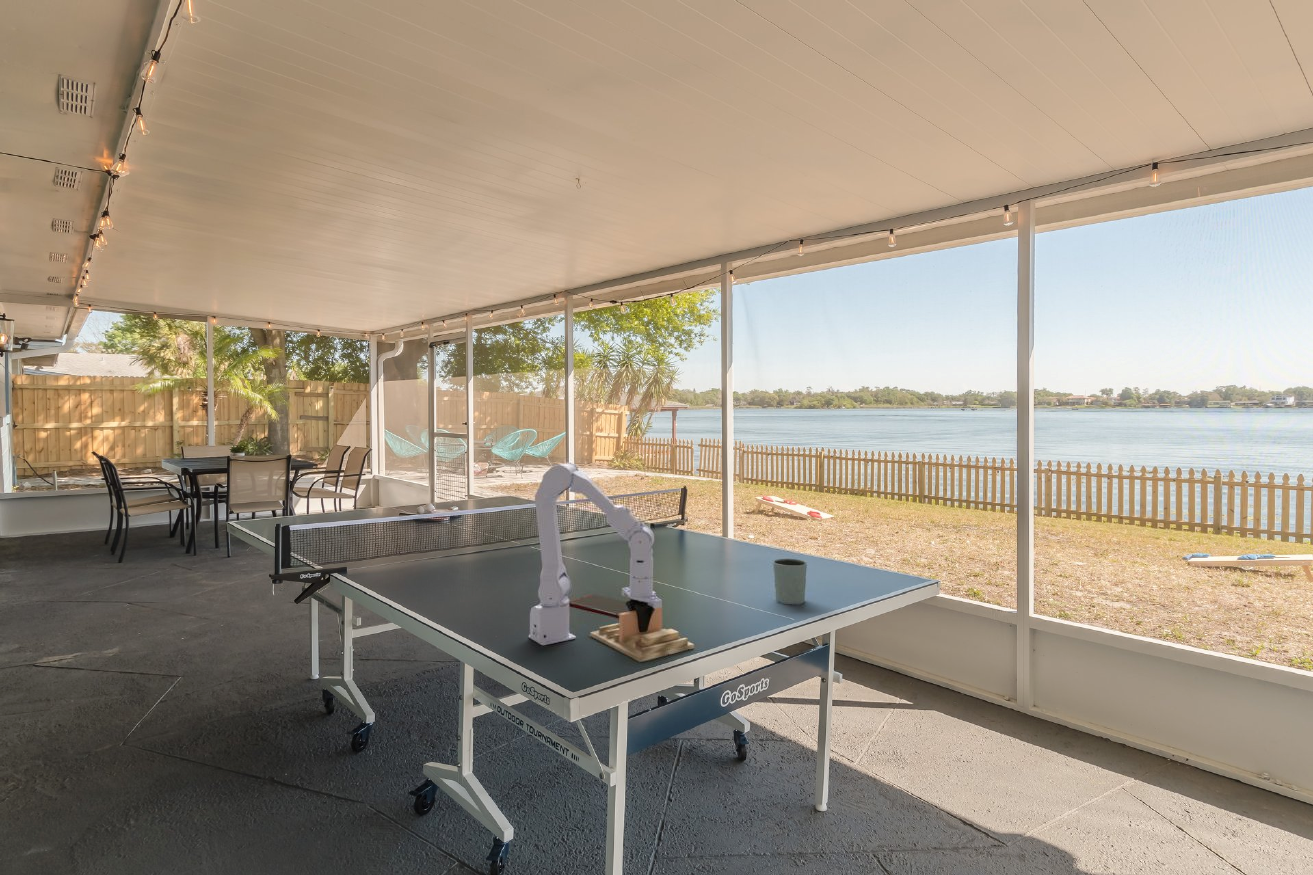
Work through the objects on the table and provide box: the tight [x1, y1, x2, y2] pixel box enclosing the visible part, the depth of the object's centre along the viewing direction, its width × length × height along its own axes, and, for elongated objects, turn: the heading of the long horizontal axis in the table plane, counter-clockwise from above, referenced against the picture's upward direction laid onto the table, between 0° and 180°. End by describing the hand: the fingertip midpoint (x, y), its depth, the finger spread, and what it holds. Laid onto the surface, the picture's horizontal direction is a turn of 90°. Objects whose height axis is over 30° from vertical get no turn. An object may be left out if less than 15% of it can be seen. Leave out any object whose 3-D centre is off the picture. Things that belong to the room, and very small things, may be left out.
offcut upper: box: [641, 628, 680, 645], centre depth 164 cm, size 9×3×2 cm, turn 126°
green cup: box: [772, 558, 808, 605], centre depth 208 cm, size 10×10×12 cm
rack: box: [589, 622, 695, 663], centre depth 170 cm, size 16×22×2 cm
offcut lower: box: [635, 636, 682, 651], centre depth 164 cm, size 11×4×2 cm, turn 126°
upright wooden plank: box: [618, 607, 663, 643], centre depth 170 cm, size 12×2×7 cm, turn 126°
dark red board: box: [569, 593, 629, 619], centre depth 199 cm, size 12×2×25 cm
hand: (640, 630), depth 170 cm, fingers closed on upright wooden plank, 1 cm apart
